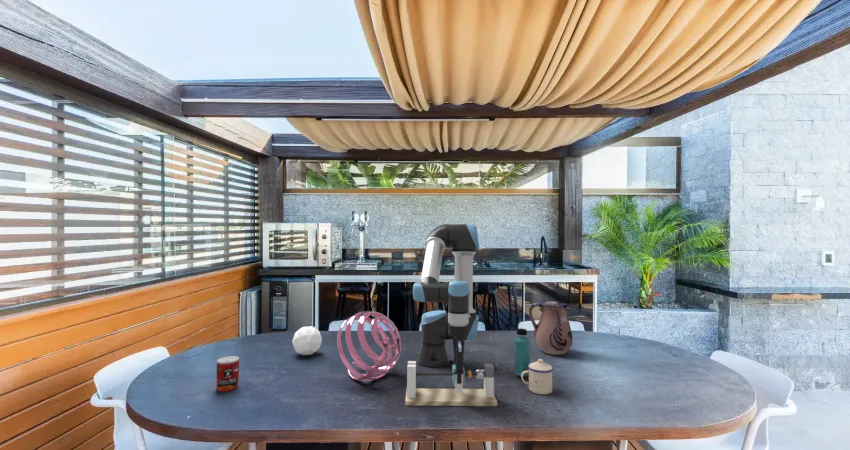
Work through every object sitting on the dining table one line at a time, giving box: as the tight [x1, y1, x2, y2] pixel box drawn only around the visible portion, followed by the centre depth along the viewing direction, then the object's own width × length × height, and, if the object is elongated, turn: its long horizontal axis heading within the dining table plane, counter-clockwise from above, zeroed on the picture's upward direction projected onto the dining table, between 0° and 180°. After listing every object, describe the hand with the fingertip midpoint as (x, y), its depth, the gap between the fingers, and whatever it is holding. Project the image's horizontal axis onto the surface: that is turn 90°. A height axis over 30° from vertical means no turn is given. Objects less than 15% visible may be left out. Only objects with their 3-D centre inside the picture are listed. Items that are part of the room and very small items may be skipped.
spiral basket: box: [336, 311, 402, 382], centre depth 159 cm, size 28×28×27 cm
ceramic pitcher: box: [528, 301, 573, 356], centre depth 193 cm, size 18×21×25 cm
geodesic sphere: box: [291, 325, 323, 356], centre depth 188 cm, size 15×14×14 cm
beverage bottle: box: [513, 328, 531, 377], centre depth 159 cm, size 6×7×20 cm
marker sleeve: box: [451, 364, 466, 385], centre depth 137 cm, size 4×5×5 cm
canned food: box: [215, 355, 240, 393], centre depth 145 cm, size 8×8×11 cm
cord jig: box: [404, 360, 498, 407], centre depth 137 cm, size 32×11×12 cm, turn 90°
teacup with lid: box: [520, 358, 554, 395], centre depth 146 cm, size 12×9×12 cm
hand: (458, 388), depth 137 cm, fingers closed on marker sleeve, 5 cm apart
